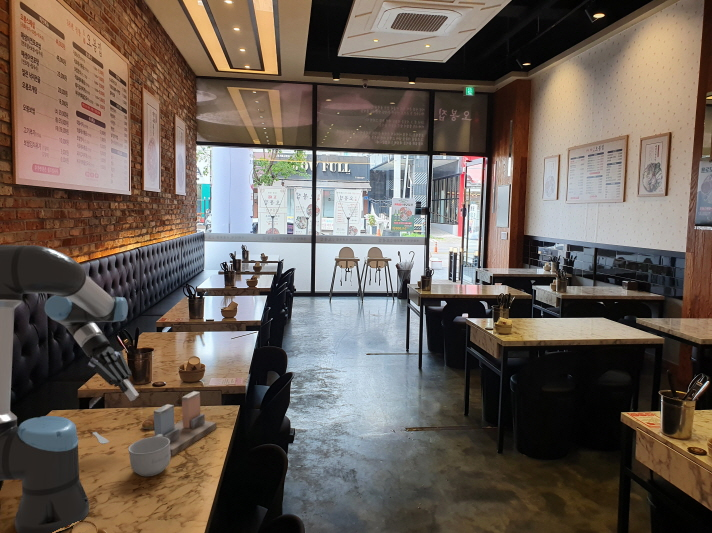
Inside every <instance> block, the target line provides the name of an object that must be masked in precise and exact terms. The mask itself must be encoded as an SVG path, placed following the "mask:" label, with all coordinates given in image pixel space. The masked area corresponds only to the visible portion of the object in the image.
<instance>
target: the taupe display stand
mask: <svg viewBox="0 0 712 533" xmlns="http://www.w3.org/2000/svg"><path fill="white" fill-rule="evenodd" d="M205 418H206V416H205V413H200V415H199V416H197V417H196V418H194V419H192V420H191V427H190V428H187V427H183V419H182V420H180V421H178V422H176V423H174V427H175V430H173V431H171V432H169V433H168V434H166V435H164V436H163V437H166V438H168V439H169V440H170V453H171V457H174V456H176V455H178V454H179V453H180V452H181V451H183V450H185V449H187V448H188V447H190V446H191V445H193V444H194V443H196V442H198V441H199V440H201V439H202V438H204V437H205V436H207V435H208V434H210V433H211V432H212V431H215V430H216V429H217V422H215V421H209V420H206V419H205ZM214 429H215V430H214ZM152 437H155V435H153V436H152Z"/></svg>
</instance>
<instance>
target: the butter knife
mask: <svg viewBox="0 0 712 533" xmlns="http://www.w3.org/2000/svg"><path fill="white" fill-rule="evenodd" d="M92 435H94V436H95V438H97V441H98V442H99V444H101V445H103V444H104V445H105V444H108V443H109V442H110V441H109V440H108V439H107V438H105V437H103V436H102V435H100V434H99V433H98V432H97V431H94V432H92Z"/></svg>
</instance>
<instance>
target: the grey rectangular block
mask: <svg viewBox="0 0 712 533" xmlns="http://www.w3.org/2000/svg"><path fill="white" fill-rule="evenodd" d="M153 414H154V429H153V430H154V436H155V437H156V436H157V435H158V434H162V435H163V436H164V435H166V434H168V433H169V432H171V431H173V430H175V427H174V424H175V405H174V404H169V403H168V404H165V405H162V406H161V407H159V408H157V409H155V410H153Z"/></svg>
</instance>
